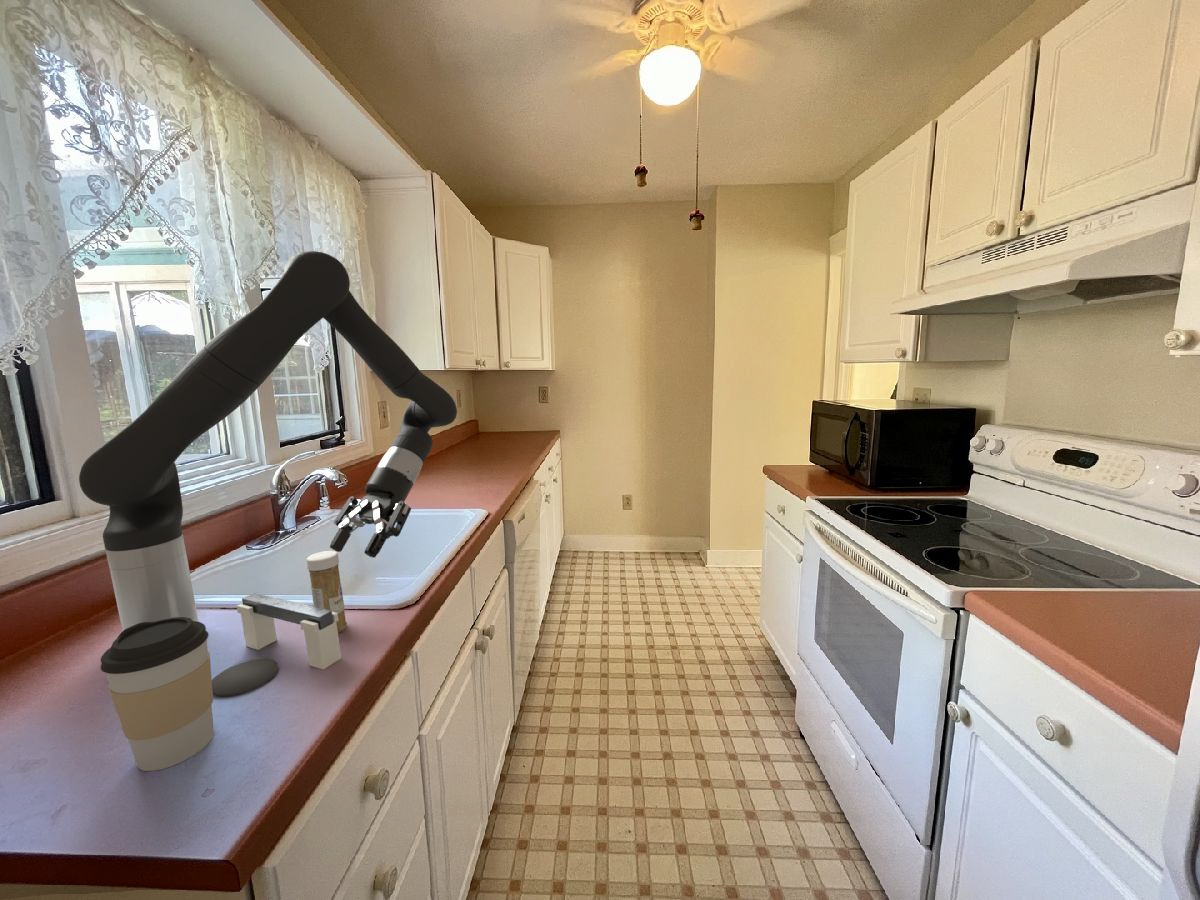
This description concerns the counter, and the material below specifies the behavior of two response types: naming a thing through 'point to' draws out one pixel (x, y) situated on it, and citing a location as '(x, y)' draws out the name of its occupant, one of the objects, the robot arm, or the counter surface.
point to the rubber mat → (244, 677)
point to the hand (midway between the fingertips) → (351, 552)
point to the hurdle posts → (318, 642)
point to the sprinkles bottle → (327, 584)
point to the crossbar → (288, 610)
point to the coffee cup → (162, 690)
